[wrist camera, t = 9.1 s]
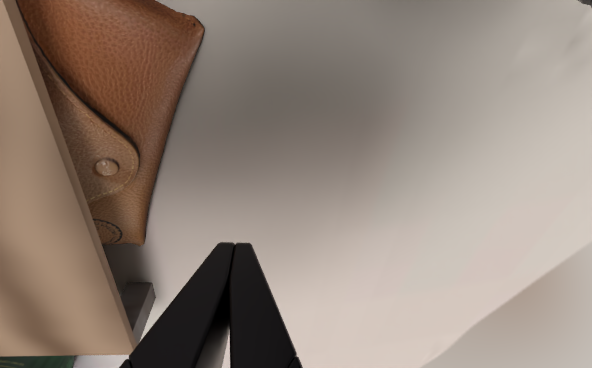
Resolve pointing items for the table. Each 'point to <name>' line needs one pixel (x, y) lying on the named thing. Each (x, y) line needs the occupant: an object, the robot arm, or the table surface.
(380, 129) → the table surface
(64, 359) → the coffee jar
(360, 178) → the table surface
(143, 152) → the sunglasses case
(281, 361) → the robot arm
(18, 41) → the brown box
